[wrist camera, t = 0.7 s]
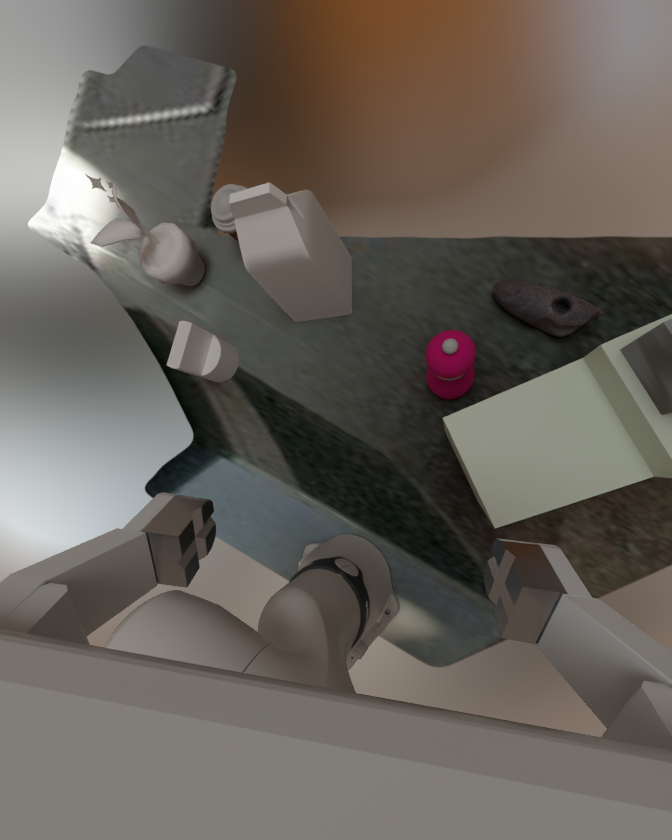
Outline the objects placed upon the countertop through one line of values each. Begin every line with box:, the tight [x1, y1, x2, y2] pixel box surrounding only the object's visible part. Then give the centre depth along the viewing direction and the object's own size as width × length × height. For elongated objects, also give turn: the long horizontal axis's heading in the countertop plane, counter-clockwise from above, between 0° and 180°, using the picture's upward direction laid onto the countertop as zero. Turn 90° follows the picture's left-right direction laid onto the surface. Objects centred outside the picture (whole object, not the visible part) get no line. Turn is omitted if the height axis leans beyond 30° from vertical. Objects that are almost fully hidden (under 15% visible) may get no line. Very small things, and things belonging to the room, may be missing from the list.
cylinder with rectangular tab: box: [167, 321, 239, 382], centre depth 67 cm, size 9×9×12 cm
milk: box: [229, 183, 352, 322], centre depth 54 cm, size 12×12×26 cm
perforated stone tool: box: [492, 280, 603, 337], centre depth 51 cm, size 15×5×7 cm, turn 53°
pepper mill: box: [425, 330, 476, 399], centre depth 48 cm, size 7×7×20 cm
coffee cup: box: [211, 184, 247, 242], centre depth 67 cm, size 9×9×12 cm
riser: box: [443, 314, 672, 528], centre depth 40 cm, size 12×24×26 cm, turn 112°
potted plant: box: [85, 174, 205, 286], centre depth 66 cm, size 13×12×25 cm
